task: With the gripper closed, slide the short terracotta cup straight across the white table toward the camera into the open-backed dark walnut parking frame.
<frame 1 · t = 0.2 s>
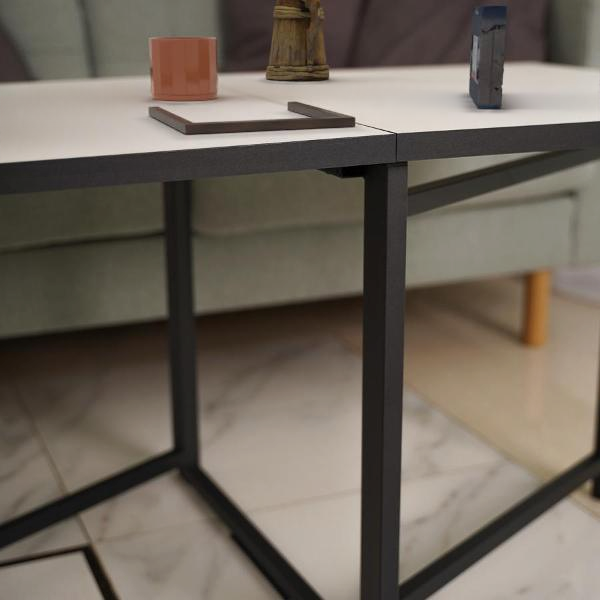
cup: (185, 97, 103), on the table
frame: (246, 120, 83), on the table
vhs cassette tape: (483, 102, 101), on the table
wooden mug: (303, 81, 128), on the table
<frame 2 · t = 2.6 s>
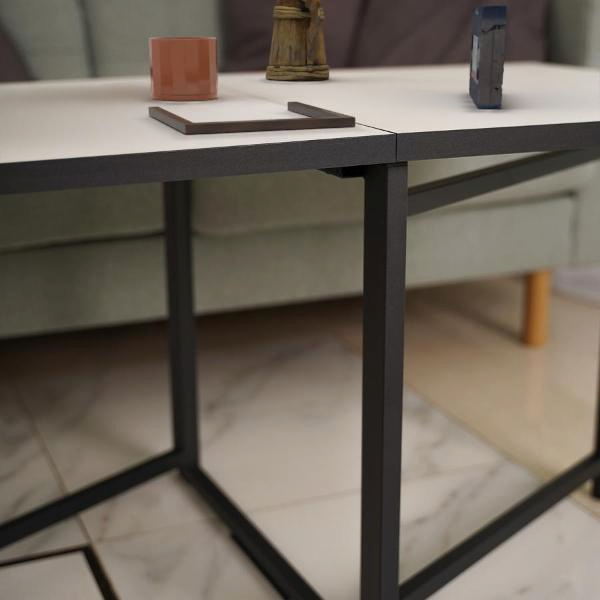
nothing on the table moved.
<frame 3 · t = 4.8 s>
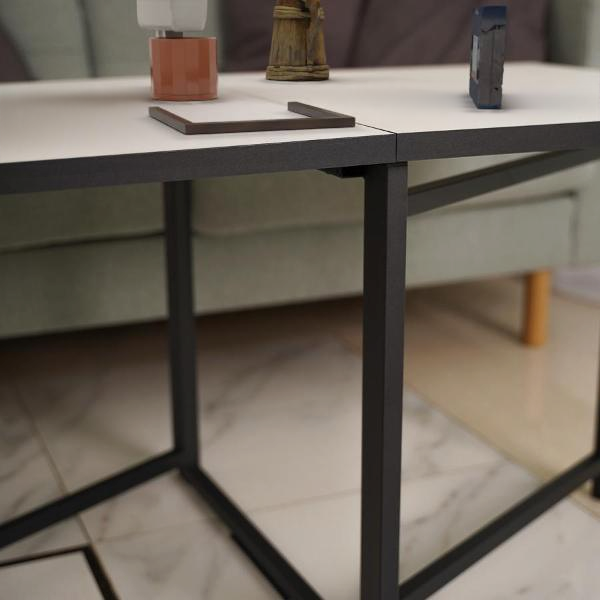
hand: (170, 70, 108), 3 cm above the table, tool pointing down, fingers closed
cup: (185, 97, 103), on the table, touching gripper
everything else where it was.
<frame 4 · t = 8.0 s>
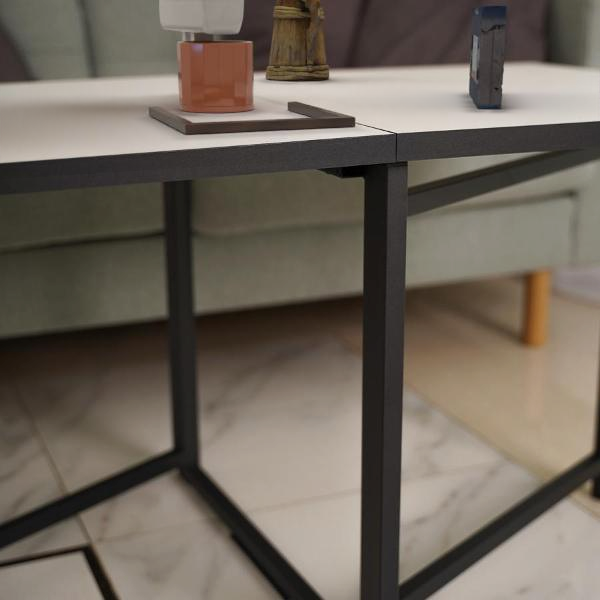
hand: (199, 77, 96), 3 cm above the table, tool pointing down, fingers closed
cup: (216, 108, 92), on the table, touching gripper
everything else where it was.
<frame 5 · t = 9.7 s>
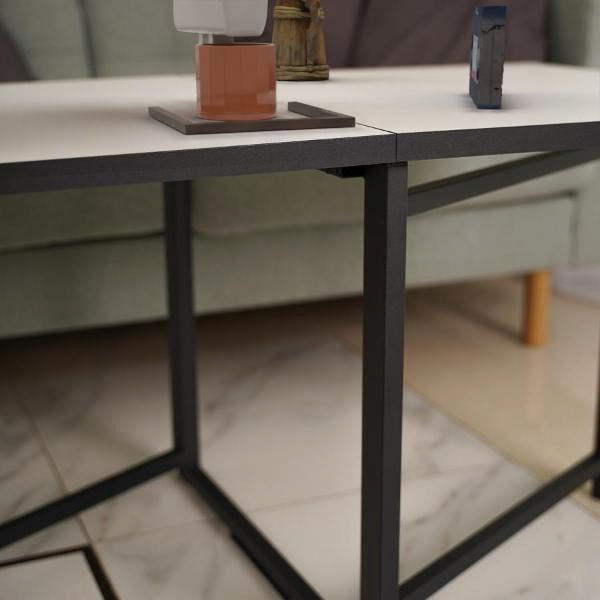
hand: (217, 82, 90), 3 cm above the table, tool pointing down, fingers closed
cup: (237, 115, 86), on the table, touching gripper
everything else where it was.
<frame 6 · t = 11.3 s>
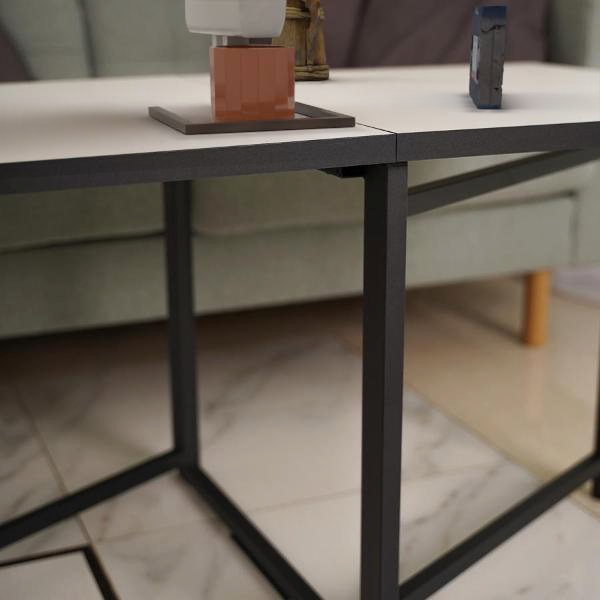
hand: (231, 86, 86), 3 cm above the table, tool pointing down, fingers closed
cup: (253, 121, 81), on the table, touching gripper
everything else where it was.
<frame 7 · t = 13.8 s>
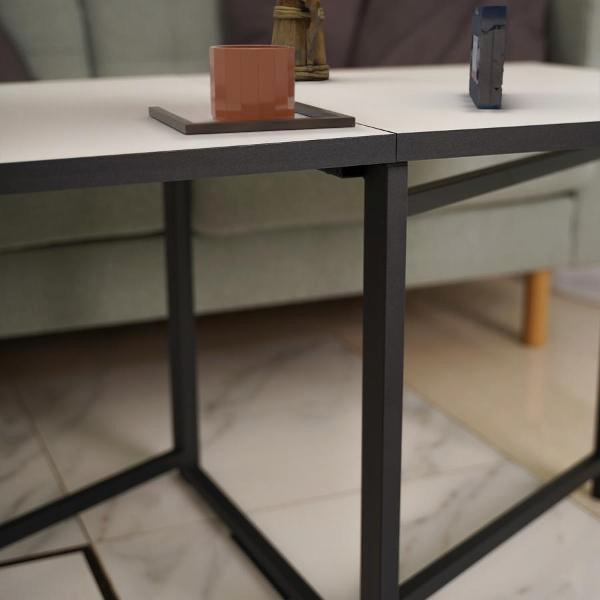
cup: (253, 121, 81), on the table
everything else where it was.
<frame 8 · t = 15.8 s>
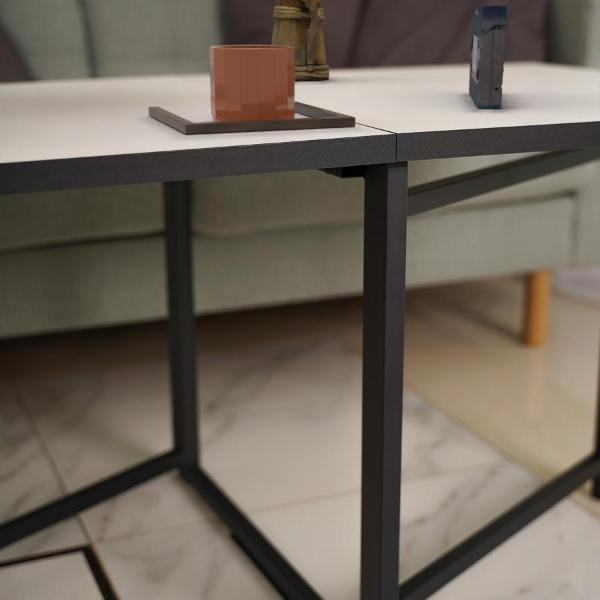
nothing on the table moved.
at the end: cup inside the target area on the frame (1.4 cm from its centre), point 0.0 cm above the frame's base; cup tilted 0° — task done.
